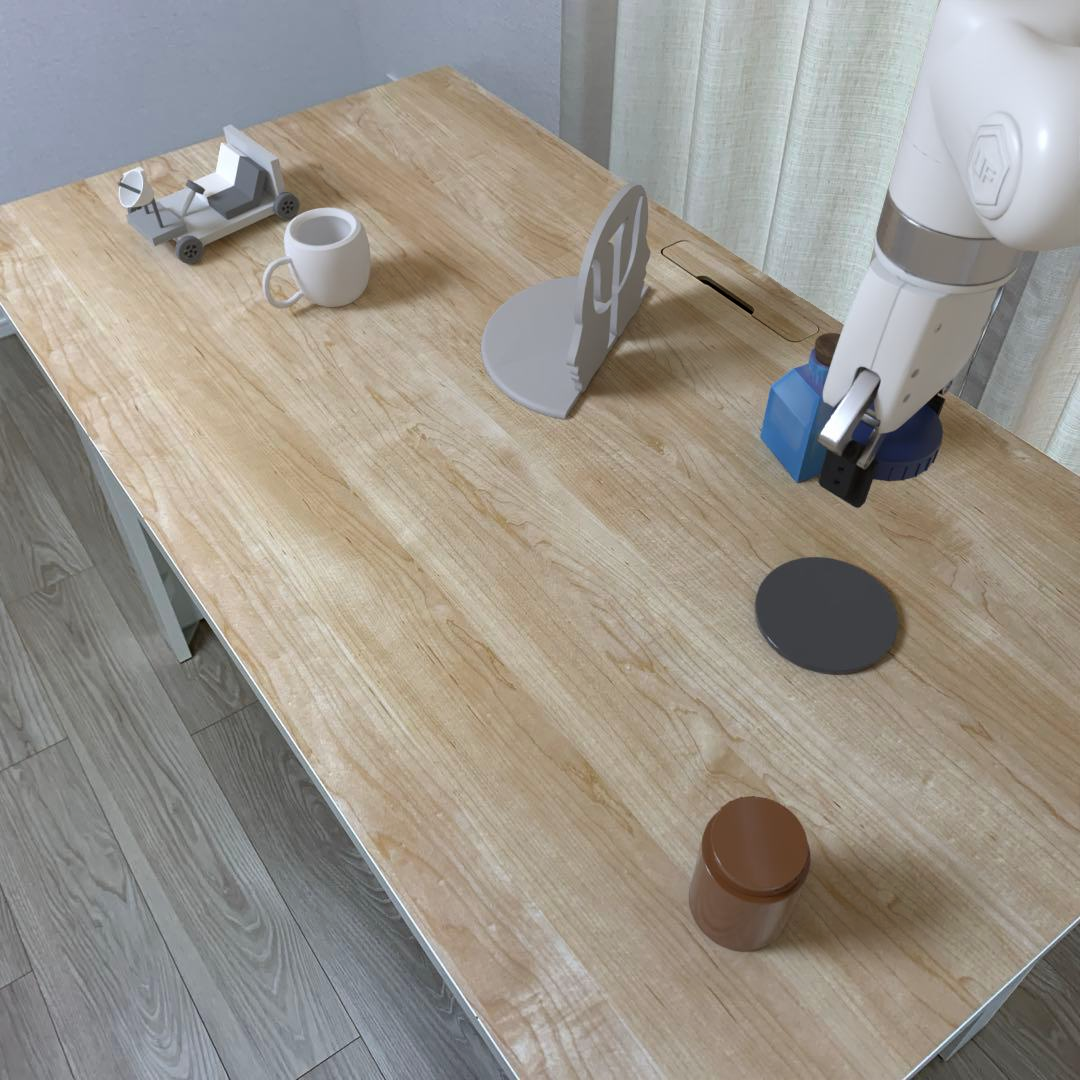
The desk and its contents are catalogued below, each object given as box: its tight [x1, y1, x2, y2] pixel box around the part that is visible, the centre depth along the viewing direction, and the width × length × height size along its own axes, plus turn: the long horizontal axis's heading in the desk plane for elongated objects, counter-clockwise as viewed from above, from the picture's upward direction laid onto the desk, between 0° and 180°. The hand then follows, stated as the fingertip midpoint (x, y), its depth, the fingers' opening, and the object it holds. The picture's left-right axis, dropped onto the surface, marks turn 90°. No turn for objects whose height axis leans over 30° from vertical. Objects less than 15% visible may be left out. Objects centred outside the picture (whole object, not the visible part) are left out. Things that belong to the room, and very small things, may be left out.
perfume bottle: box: [759, 332, 841, 484], centre depth 90 cm, size 6×6×12 cm
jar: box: [688, 795, 812, 953], centre depth 64 cm, size 6×6×9 cm
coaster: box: [754, 556, 899, 675], centre depth 82 cm, size 11×11×1 cm
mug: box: [261, 207, 372, 309], centre depth 106 cm, size 12×8×8 cm
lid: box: [828, 401, 944, 483], centre depth 67 cm, size 7×7×2 cm
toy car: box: [117, 124, 300, 265], centre depth 115 cm, size 18×10×12 cm
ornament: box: [480, 182, 651, 420], centre depth 99 cm, size 22×13×17 cm, turn 155°
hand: (874, 462), depth 69 cm, fingers closed on lid, 6 cm apart
